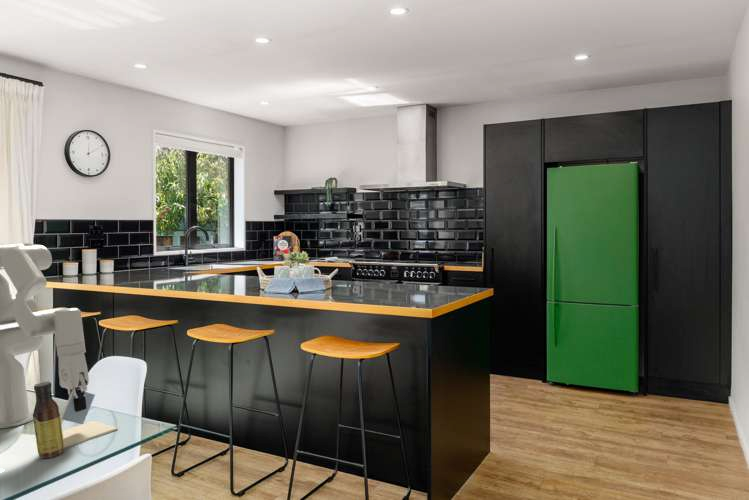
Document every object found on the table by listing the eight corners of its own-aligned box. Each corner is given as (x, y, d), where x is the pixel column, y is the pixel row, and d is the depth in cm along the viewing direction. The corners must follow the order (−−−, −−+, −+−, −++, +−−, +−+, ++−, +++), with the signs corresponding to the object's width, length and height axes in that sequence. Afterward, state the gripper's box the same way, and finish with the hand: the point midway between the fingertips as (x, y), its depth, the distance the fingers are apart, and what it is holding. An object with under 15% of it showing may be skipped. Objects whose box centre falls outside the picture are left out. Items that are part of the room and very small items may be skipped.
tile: (79, 423, 172) (60, 418, 168) (91, 393, 175) (73, 388, 171) (82, 424, 170) (63, 419, 166) (95, 394, 174) (76, 389, 170)
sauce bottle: (46, 451, 157) (37, 381, 156) (69, 449, 157) (60, 378, 157) (33, 461, 151) (24, 387, 150) (57, 458, 151) (48, 385, 150)
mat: (39, 439, 169) (39, 437, 169) (93, 422, 181) (93, 420, 181) (62, 448, 158) (61, 446, 158) (117, 429, 171) (117, 427, 171)
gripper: (47, 351, 172) (54, 410, 173) (69, 353, 162) (77, 416, 163) (72, 345, 178) (79, 403, 179) (96, 347, 168) (103, 409, 169)
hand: (78, 409), depth 171 cm, fingers closed on tile, 2 cm apart
